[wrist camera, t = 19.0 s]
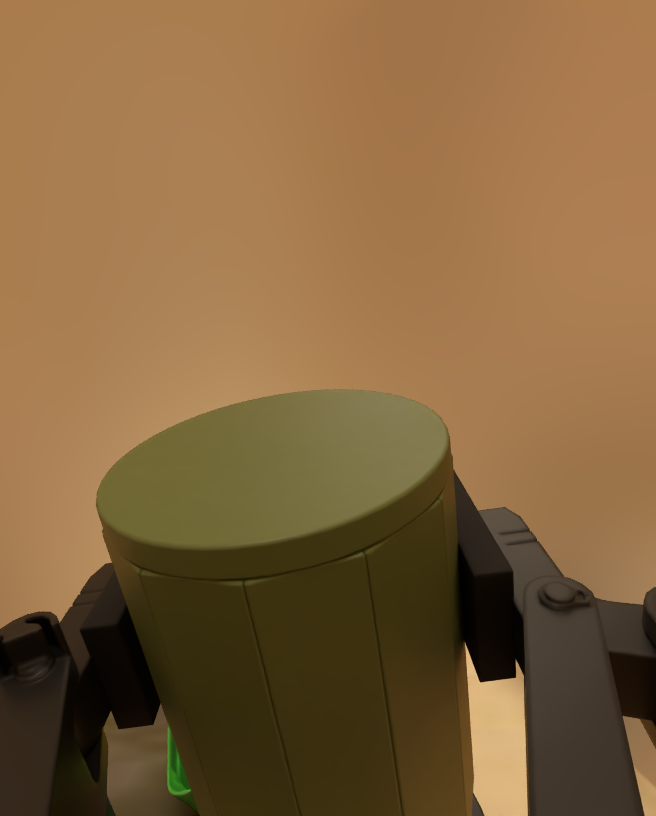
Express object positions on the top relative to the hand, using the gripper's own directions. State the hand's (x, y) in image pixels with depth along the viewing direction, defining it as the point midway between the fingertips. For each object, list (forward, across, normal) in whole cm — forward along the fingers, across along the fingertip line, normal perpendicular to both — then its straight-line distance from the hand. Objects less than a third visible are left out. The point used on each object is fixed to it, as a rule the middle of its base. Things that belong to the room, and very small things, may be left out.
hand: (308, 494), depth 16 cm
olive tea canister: (-5, 0, -6) cm, 8 cm away
